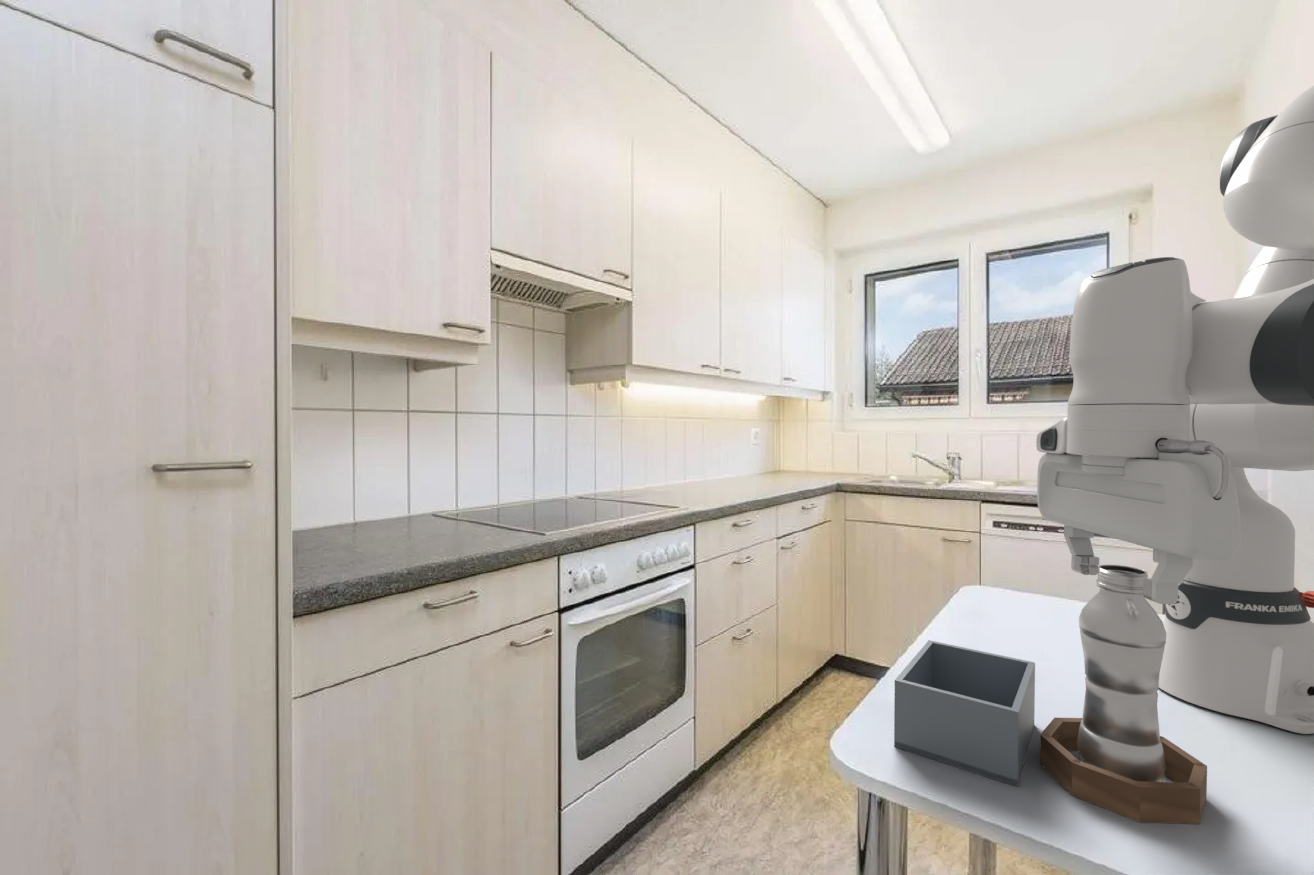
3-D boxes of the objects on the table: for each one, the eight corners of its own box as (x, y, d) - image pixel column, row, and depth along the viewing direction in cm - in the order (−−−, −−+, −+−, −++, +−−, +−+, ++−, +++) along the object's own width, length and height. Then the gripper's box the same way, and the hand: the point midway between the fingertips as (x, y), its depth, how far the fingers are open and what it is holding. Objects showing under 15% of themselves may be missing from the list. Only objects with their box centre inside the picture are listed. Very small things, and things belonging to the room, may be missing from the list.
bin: (928, 696, 72) (928, 640, 72) (1034, 724, 65) (1035, 662, 65) (894, 746, 61) (894, 680, 61) (1017, 786, 54) (1018, 712, 54)
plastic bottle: (1113, 804, 52) (1116, 579, 51) (1060, 760, 58) (1062, 560, 58) (1185, 804, 52) (1190, 579, 51) (1124, 759, 58) (1127, 560, 58)
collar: (1136, 747, 61) (1137, 719, 60) (1242, 825, 49) (1243, 789, 49) (1020, 745, 61) (1020, 716, 61) (1097, 820, 50) (1098, 785, 49)
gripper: (1272, 441, 44) (1264, 626, 44) (1086, 435, 64) (1081, 561, 64) (1183, 440, 44) (1176, 622, 44) (1026, 434, 64) (1022, 560, 65)
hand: (1119, 586), depth 54 cm, fingers open, 8 cm apart
